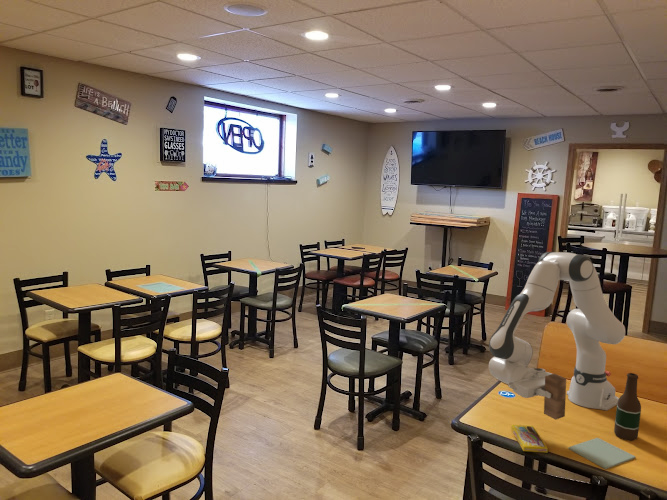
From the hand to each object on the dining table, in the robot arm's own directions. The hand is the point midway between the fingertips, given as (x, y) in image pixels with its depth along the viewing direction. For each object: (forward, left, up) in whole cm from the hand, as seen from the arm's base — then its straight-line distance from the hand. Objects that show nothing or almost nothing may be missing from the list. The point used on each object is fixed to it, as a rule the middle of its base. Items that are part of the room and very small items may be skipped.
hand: (557, 394), depth 176 cm
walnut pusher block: (-1, -1, -8) cm, 8 cm away
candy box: (+1, -4, -18) cm, 19 cm away
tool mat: (-12, +10, -19) cm, 25 cm away
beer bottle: (-32, +6, -20) cm, 38 cm away
